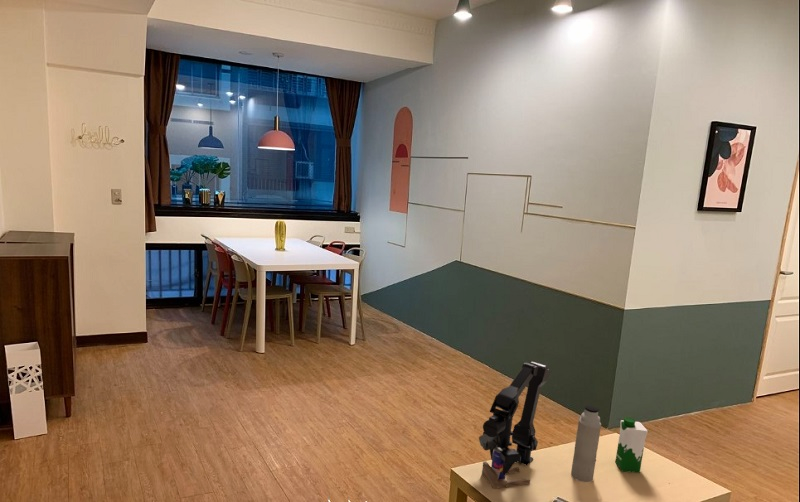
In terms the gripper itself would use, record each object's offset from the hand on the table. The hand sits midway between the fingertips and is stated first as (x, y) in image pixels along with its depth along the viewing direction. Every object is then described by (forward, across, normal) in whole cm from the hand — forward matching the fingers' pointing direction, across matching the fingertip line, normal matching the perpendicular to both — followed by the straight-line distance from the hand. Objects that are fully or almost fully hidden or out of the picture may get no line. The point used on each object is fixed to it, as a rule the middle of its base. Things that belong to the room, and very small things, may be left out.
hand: (498, 467), depth 195 cm
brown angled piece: (+5, 0, +4) cm, 6 cm away
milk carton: (+5, +1, +58) cm, 58 cm away
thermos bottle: (+5, +3, +34) cm, 35 cm away
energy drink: (+5, 0, 0) cm, 5 cm away
